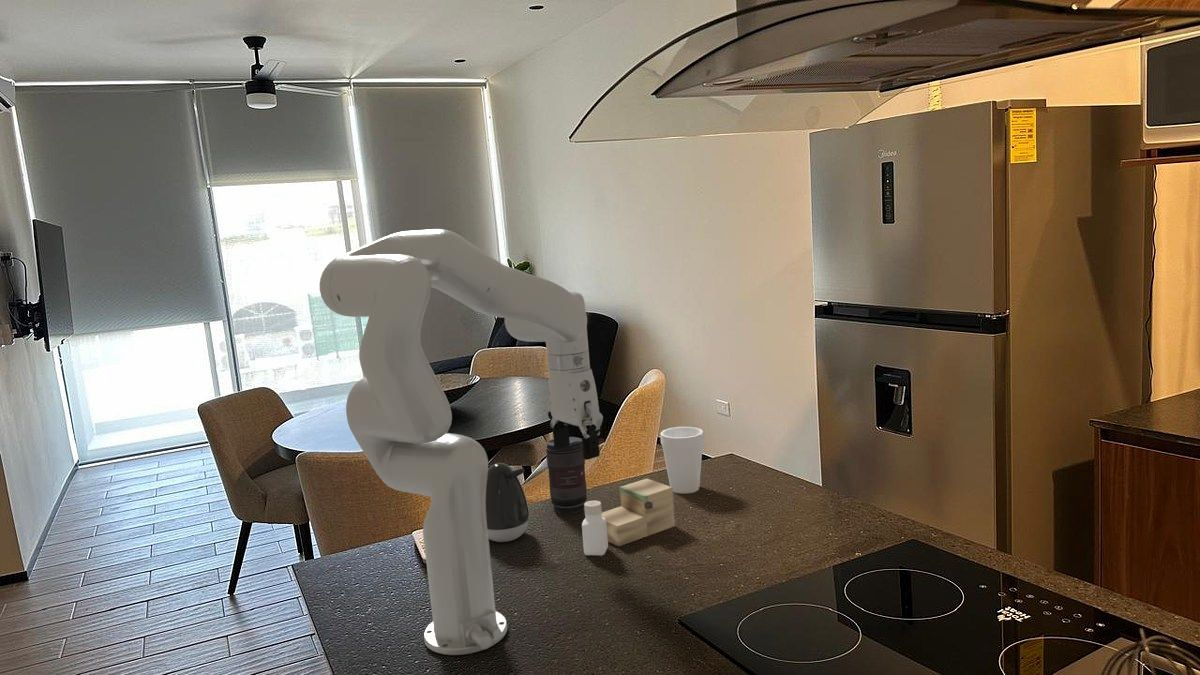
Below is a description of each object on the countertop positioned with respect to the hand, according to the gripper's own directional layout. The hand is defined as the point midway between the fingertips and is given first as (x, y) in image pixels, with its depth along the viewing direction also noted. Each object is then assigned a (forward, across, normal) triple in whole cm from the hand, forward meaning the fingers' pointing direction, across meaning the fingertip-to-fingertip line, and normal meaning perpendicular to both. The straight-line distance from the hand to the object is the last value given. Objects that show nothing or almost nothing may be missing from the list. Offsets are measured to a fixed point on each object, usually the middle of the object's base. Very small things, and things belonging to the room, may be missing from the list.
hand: (576, 452), depth 153 cm
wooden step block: (+19, +1, -13) cm, 23 cm away
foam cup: (+20, +12, -36) cm, 43 cm away
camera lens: (+20, +21, -10) cm, 31 cm away
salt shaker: (+19, -2, -1) cm, 20 cm away
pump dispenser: (+19, +17, +8) cm, 27 cm away
